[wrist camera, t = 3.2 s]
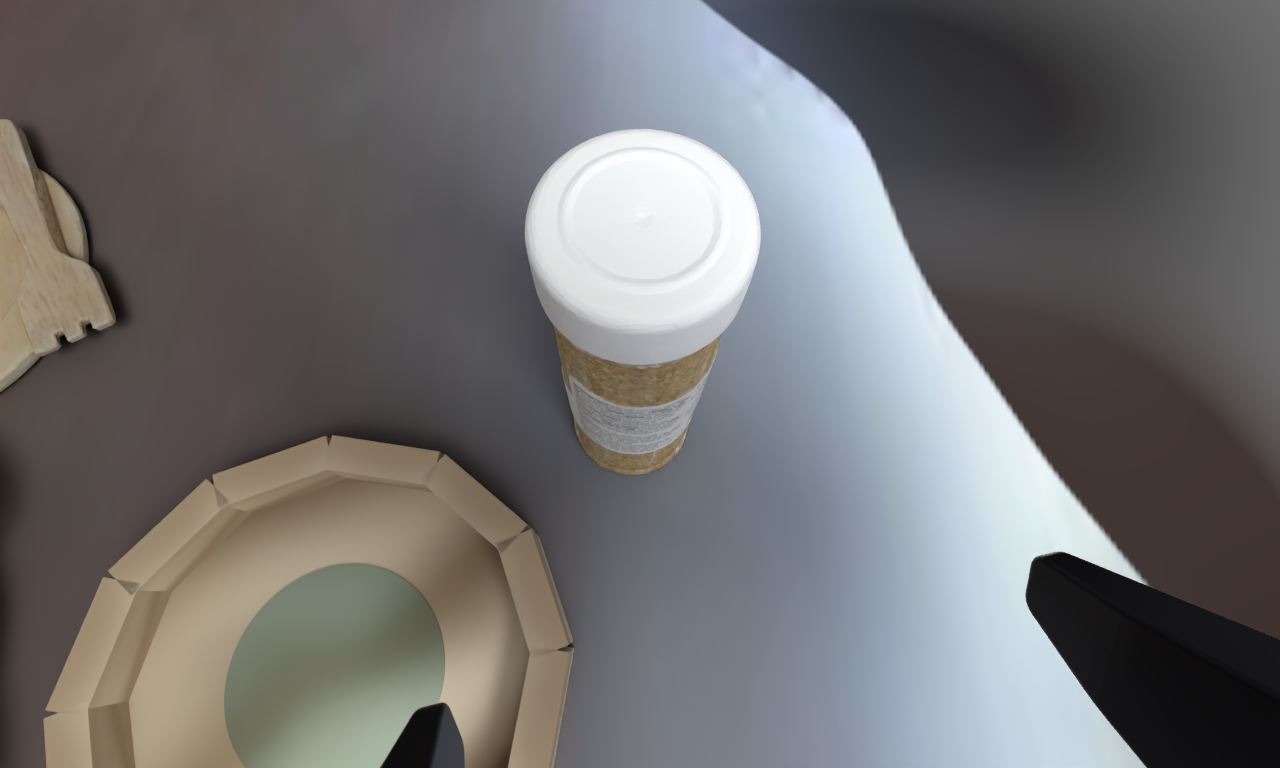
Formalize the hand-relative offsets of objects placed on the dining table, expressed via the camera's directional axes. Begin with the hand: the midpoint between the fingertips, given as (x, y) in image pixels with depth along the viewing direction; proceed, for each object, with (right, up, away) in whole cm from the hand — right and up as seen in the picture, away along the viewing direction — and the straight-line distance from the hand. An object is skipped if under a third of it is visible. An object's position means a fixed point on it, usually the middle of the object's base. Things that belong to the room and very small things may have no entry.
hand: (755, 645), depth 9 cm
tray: (-12, -6, +12) cm, 17 cm away
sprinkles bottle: (-2, +2, +15) cm, 15 cm away
